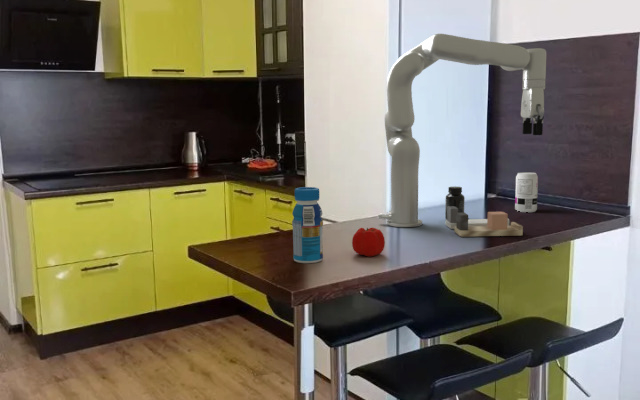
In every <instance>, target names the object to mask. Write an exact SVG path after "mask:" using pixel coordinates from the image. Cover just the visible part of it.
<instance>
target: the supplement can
mask: <svg viewBox="0 0 640 400" xmlns="http://www.w3.org/2000/svg"><path fill="white" fill-rule="evenodd" d="M538 176H539V175H537V173H536V172H517V174H516V175H515V191H514V192H515V193H514V194H515V198H514V210H517V211H516V212H518V211H520V212H519V213H526V212H528V213H536V211H537V210H538V192H539V191H538V189H539V188H538V187H539V186H538V185H539V177H538Z"/></svg>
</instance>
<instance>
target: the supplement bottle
mask: <svg viewBox="0 0 640 400" xmlns="http://www.w3.org/2000/svg"><path fill="white" fill-rule="evenodd" d="M462 193H463V188H462V187H461V186H448V194H446V195H445V211H444V213H445V217H444V218H445V221H446V220H447V206H455V207H456V208H458V213H462V212H464V213H465V201H466V200H465V195H464V194H462Z"/></svg>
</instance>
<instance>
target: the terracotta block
mask: <svg viewBox="0 0 640 400" xmlns="http://www.w3.org/2000/svg"><path fill="white" fill-rule="evenodd" d="M508 216H509V215H508V213H506V212H505V211H488V212H487V218H486V219H487V227H488V228H490V229H491V230H507V222H508V219H509V218H508Z"/></svg>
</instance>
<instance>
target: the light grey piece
mask: <svg viewBox="0 0 640 400" xmlns="http://www.w3.org/2000/svg"><path fill="white" fill-rule="evenodd" d="M457 213H458V208H456V207H455V206H447V220H446V219H445V226H446V227H448V228H449V229H450V230H455V227H456V223H457ZM468 226H487V218H476V219H475V218H474V219H469V218H468ZM507 226H510V219H509V218H508V222H507Z"/></svg>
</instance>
